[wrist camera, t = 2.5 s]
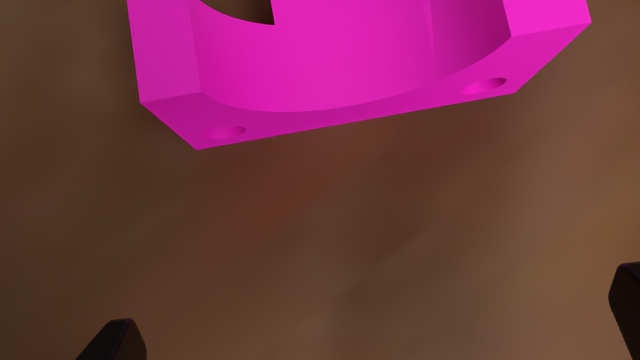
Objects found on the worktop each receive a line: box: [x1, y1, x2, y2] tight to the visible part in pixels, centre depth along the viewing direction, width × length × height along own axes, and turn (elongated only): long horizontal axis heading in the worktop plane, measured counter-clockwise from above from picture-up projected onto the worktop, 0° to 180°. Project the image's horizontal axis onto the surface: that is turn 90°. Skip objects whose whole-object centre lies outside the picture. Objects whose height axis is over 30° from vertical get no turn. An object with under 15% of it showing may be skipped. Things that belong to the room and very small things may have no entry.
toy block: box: [127, 0, 592, 150], centre depth 21 cm, size 15×6×8 cm, turn 100°
